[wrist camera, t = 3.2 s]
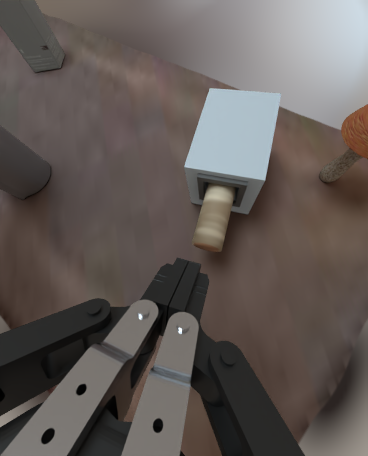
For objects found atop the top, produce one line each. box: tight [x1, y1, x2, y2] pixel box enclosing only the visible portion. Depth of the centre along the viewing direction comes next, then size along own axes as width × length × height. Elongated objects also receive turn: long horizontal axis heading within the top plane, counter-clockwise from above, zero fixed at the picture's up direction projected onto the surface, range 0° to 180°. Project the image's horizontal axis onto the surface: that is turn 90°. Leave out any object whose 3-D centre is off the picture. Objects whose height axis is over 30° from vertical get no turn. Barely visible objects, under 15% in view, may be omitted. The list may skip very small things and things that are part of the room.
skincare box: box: [0, 0, 65, 72], centre depth 46 cm, size 8×7×16 cm
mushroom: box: [320, 104, 368, 183], centre depth 25 cm, size 8×8×15 cm
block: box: [184, 88, 281, 214], centre depth 30 cm, size 15×10×10 cm
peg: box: [192, 182, 236, 252], centre depth 26 cm, size 12×4×4 cm, turn 164°
